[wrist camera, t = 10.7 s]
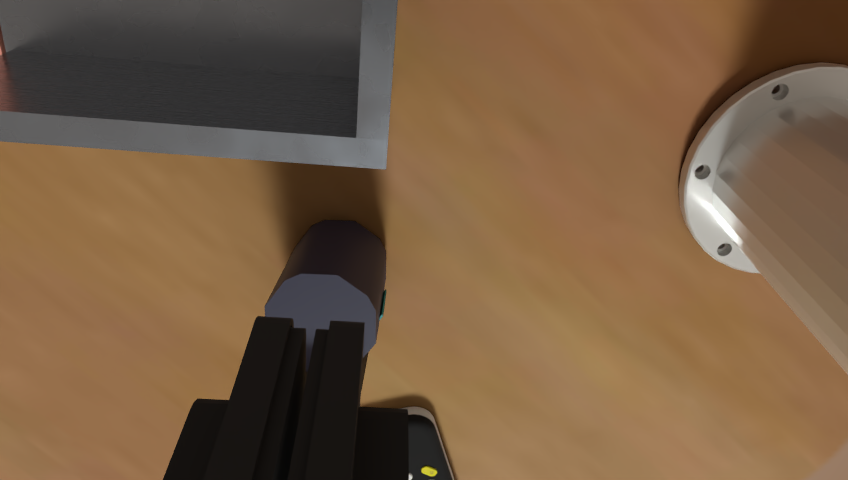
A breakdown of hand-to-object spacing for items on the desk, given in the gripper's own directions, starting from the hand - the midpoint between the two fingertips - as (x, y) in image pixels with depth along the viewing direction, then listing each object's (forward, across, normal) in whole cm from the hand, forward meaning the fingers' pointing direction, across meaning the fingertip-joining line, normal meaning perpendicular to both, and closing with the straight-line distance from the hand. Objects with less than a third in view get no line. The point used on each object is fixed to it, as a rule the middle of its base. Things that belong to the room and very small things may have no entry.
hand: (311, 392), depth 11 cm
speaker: (+27, +2, +14) cm, 31 cm away
